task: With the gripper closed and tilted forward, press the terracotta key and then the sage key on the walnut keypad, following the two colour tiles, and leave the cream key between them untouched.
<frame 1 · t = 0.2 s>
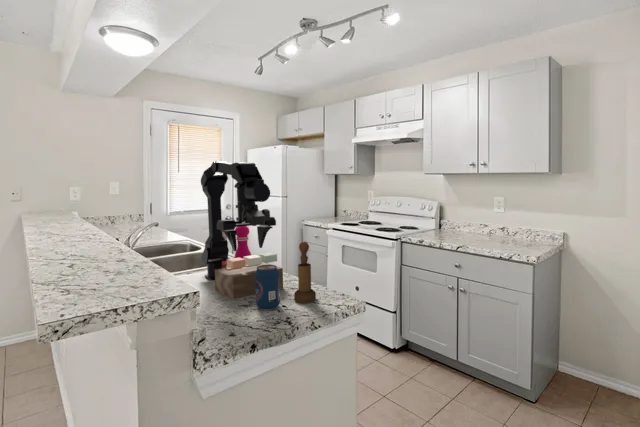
hand: (248, 249, 121), 15 cm above the countertop, tool pointing down, fingers open, 9 cm apart
terracotta key: (236, 263, 120), point 10 cm above the countertop, slide at 0.0 cm
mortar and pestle: (305, 300, 115), on the countertop
keypad console: (249, 289, 127), on the countertop
pepper mill: (243, 268, 158), on the countertop
sage key: (268, 257, 128), point 10 cm above the countertop, slide at 0.0 cm
cream key: (252, 260, 124), point 10 cm above the countertop, slide at 0.0 cm
liquor: (220, 268, 159), on the countertop
soda can: (268, 307, 109), on the countertop
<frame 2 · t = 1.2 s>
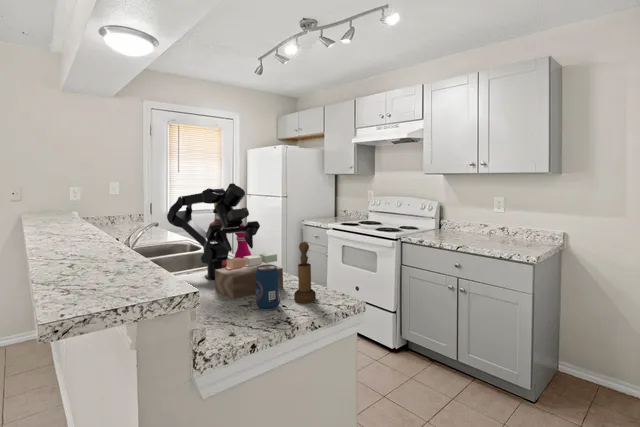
hand: (241, 249, 128), 13 cm above the countertop, tool tilted 45°, fingers open, 8 cm apart
nothing on the countertop moved.
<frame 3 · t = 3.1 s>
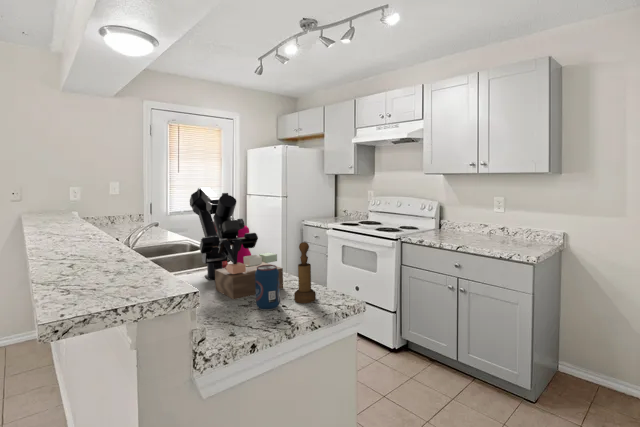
hand: (235, 263, 121), 10 cm above the countertop, tool tilted 45°, fingers closed, pressing on terracotta key
terracotta key: (236, 268, 120), point 9 cm above the countertop, slide at 1.7 cm, touching gripper
everything else where it was.
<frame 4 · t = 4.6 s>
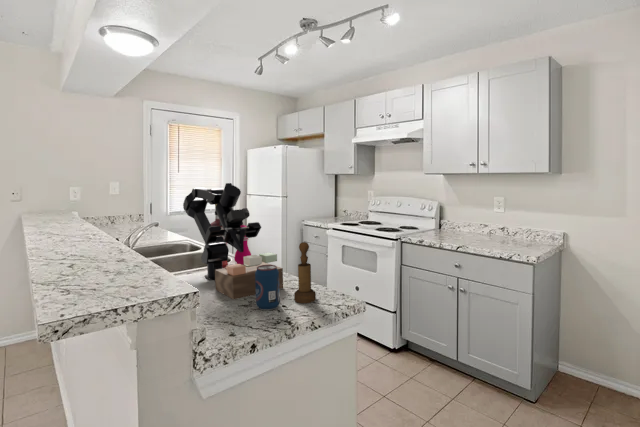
hand: (242, 251, 124), 14 cm above the countertop, tool tilted 45°, fingers closed
terracotta key: (236, 269, 120), point 8 cm above the countertop, slide at 2.2 cm
everything else where it was.
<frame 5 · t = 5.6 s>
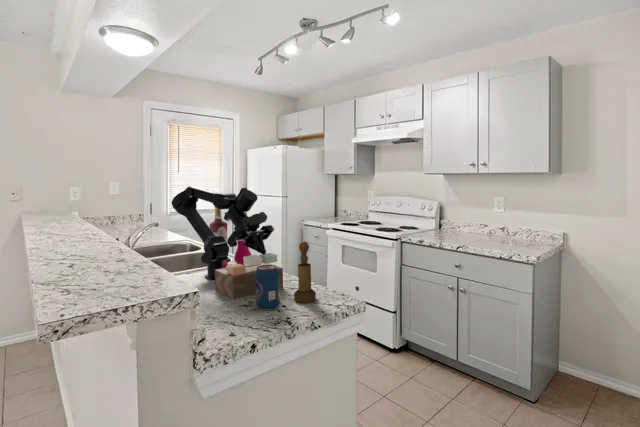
hand: (264, 253, 128), 12 cm above the countertop, tool tilted 45°, fingers closed, pressing on sage key
sage key: (268, 258, 128), point 10 cm above the countertop, slide at 0.2 cm, touching gripper
everything else where it was.
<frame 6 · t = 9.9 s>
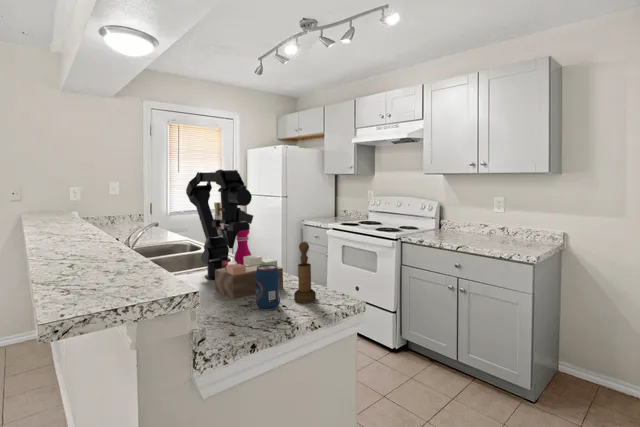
hand: (231, 248, 133), 13 cm above the countertop, tool pointing down, fingers closed
sage key: (268, 263, 128), point 8 cm above the countertop, slide at 2.2 cm
everything else where it was.
at the end: terracotta key slide at 2.2 cm; sage key slide at 2.2 cm; cream key slide at 0.0 cm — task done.
